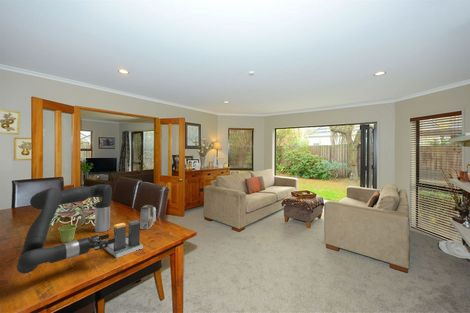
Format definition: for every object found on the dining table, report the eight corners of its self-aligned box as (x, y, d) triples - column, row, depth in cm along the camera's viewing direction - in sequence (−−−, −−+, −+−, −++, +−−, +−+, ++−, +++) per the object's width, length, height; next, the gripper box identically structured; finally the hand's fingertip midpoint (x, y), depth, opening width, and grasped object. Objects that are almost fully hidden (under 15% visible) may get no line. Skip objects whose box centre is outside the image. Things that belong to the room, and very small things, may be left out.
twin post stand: (101, 246, 124) (102, 220, 124) (127, 238, 136) (127, 214, 135) (116, 258, 112) (116, 228, 111) (142, 248, 124) (143, 221, 123)
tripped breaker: (113, 249, 116) (113, 225, 116) (122, 246, 120) (123, 222, 120) (116, 251, 114) (116, 226, 114) (125, 248, 118) (126, 224, 118)
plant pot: (80, 239, 134) (80, 225, 133) (64, 245, 125) (64, 231, 124) (70, 236, 137) (70, 223, 136) (54, 242, 128) (54, 228, 128)
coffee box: (145, 224, 162) (145, 204, 162) (153, 225, 162) (153, 204, 162) (139, 229, 153) (140, 207, 153) (148, 229, 153) (148, 208, 152)
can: (147, 220, 172) (147, 206, 172) (156, 220, 173) (157, 206, 172) (144, 223, 165) (144, 208, 164) (154, 223, 165) (154, 208, 165)
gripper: (81, 244, 96) (117, 234, 109) (71, 236, 105) (106, 228, 118) (80, 260, 96) (117, 248, 109) (71, 251, 105) (106, 240, 118)
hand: (111, 237), depth 114 cm, fingers open, 8 cm apart
